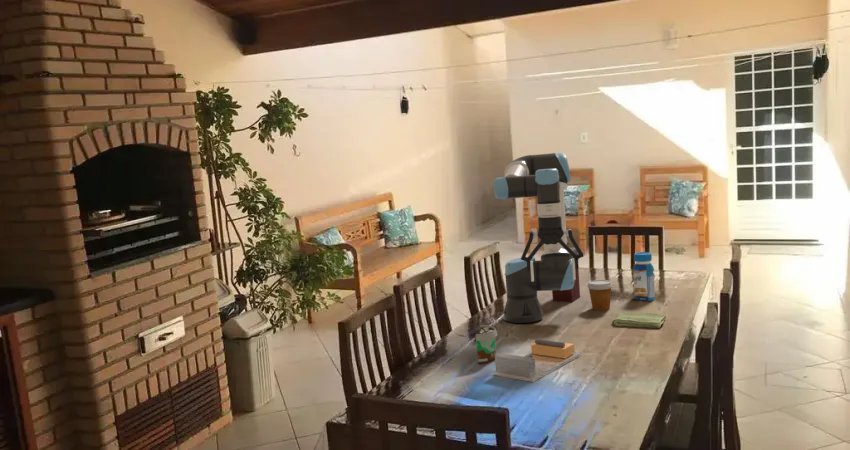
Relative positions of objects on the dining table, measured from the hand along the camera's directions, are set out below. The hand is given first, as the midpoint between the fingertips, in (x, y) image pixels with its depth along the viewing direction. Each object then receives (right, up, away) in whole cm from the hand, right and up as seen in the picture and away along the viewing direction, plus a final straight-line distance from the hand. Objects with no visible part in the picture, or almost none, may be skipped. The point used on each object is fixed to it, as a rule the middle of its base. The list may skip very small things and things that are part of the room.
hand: (553, 280), depth 230 cm
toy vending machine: (+18, -15, +64) cm, 68 cm away
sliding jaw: (-2, -23, -8) cm, 24 cm away
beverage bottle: (+48, -13, +56) cm, 75 cm away
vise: (-7, -25, -15) cm, 30 cm away
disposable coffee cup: (+27, -16, +44) cm, 54 cm away
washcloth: (+36, -18, +24) cm, 47 cm away
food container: (-22, -25, -5) cm, 34 cm away
